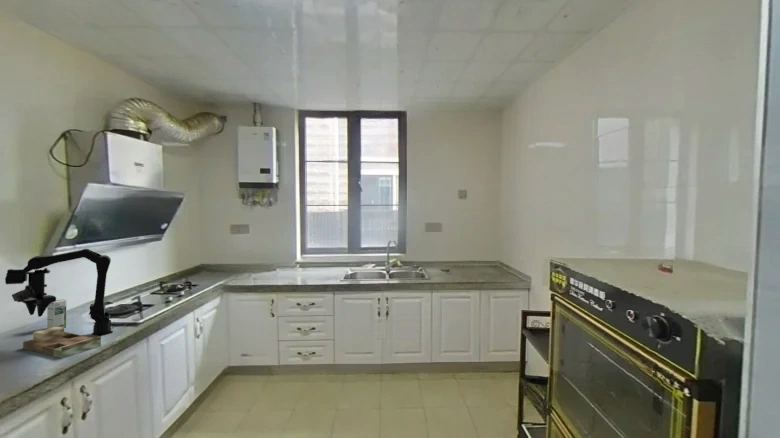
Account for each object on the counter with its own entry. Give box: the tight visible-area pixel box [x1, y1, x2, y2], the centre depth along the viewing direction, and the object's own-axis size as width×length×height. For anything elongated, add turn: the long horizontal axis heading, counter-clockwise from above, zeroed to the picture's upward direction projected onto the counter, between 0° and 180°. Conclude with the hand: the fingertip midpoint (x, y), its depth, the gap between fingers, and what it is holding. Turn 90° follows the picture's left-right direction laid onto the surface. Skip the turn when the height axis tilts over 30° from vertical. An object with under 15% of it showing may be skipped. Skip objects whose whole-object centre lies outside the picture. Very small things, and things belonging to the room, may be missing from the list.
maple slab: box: [32, 327, 65, 342], centre depth 180 cm, size 10×5×4 cm, turn 162°
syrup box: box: [46, 298, 67, 329], centre depth 202 cm, size 6×6×14 cm
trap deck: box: [22, 331, 102, 359], centre depth 177 cm, size 16×26×4 cm, turn 72°
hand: (35, 315), depth 183 cm, fingers open, 6 cm apart
